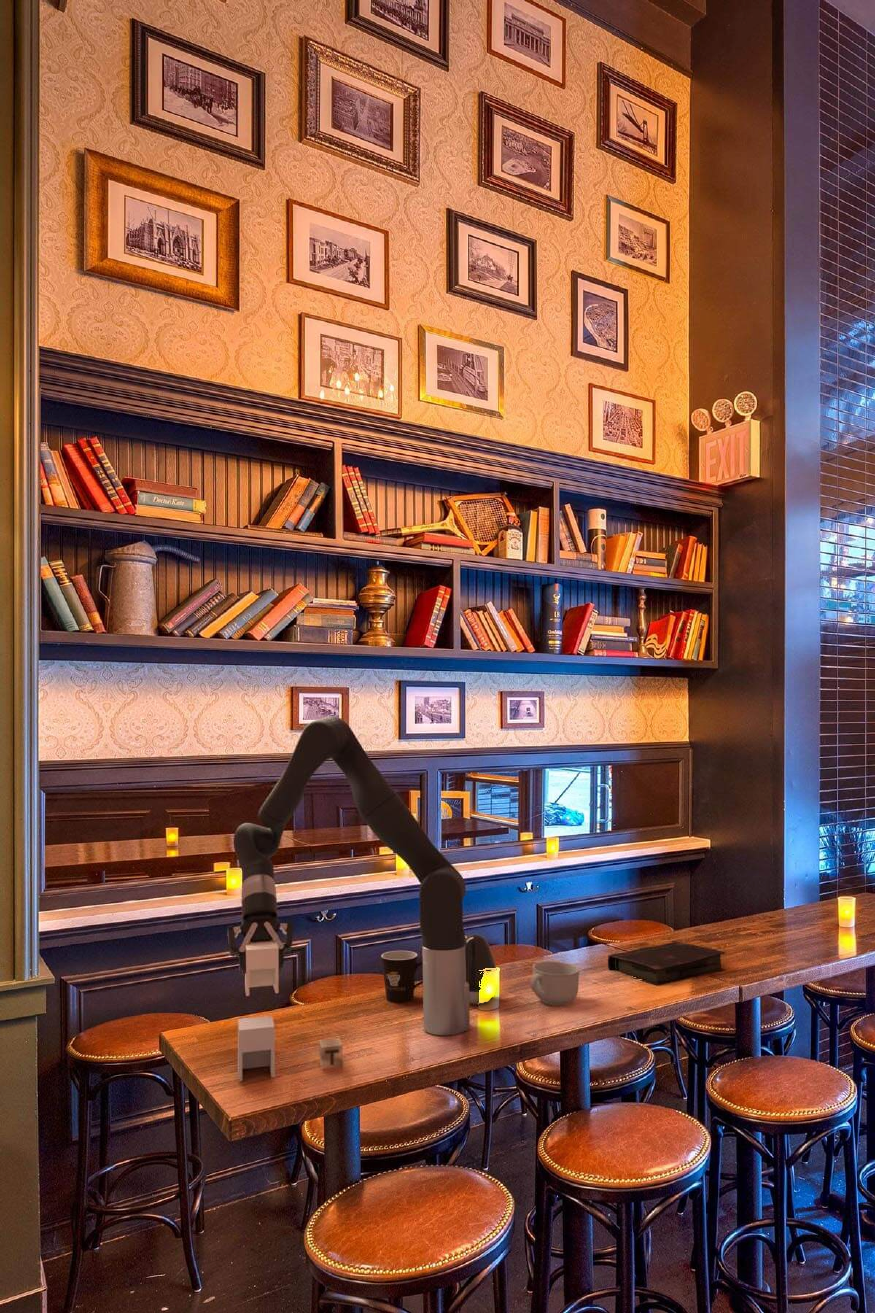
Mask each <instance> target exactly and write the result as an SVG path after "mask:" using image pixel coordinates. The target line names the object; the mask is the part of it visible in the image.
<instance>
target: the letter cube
mask: <svg viewBox="0 0 875 1313" xmlns="http://www.w3.org/2000/svg"><path fill="white" fill-rule="evenodd" d="M343 1052H344V1051H343V1043H342V1041H341V1038H327V1039H320V1040H318V1062H319V1065H320V1069H321V1070H326V1068H328V1069H336V1068H337V1069H338V1068H343V1066H344V1065H343V1062H344V1061H343V1060H344V1058H343Z"/></svg>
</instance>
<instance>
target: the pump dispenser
mask: <svg viewBox="0 0 875 1313" xmlns="http://www.w3.org/2000/svg"><path fill="white" fill-rule="evenodd" d="M465 958H466V982H467V983H468V984H469V1005H479V1004H478V1003H479V990H480V989H481V988H480V987H479V981H480V984H481V979H482V977H483V974H484V973H483V972H484V971H479V970H483V969H485V968H496V969H497V966H496V965H497V964H496V962H495V958H494V955H493V952H492V949H491V946H490V945H489V942H488V941H487V939H486V937H484V936H482V935H481V934H477V933H473V934H469V935H468V934H467V933H465ZM486 971H491V970H486ZM481 972H482V973H481ZM480 973H481V974H480ZM480 986H481V985H480Z"/></svg>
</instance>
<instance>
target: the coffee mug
mask: <svg viewBox="0 0 875 1313" xmlns="http://www.w3.org/2000/svg"><path fill="white" fill-rule="evenodd" d="M380 957H381V965H382V972H383V974H382V975H383V981H384V990H385V996H386V997H385V998H386V1001H388V1002H389V1001H390V1003H394V1004H395V1003H396V1004H399V1003H400V1004H401V1003H407V1002H408V1001H409V1002H411V1001H413V1000H414V996H415V989H416V987H420V985H423V979H422V980H421V981H420V982H418V983H416V975H417V970H418V968H419V967H420V966H423V961H421V962H418V953H417V952H414V951H409V950H391V951H386V952H384V953H382V954H381V956H380ZM417 962H418V963H417ZM409 1002H408V1003H409Z"/></svg>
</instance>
